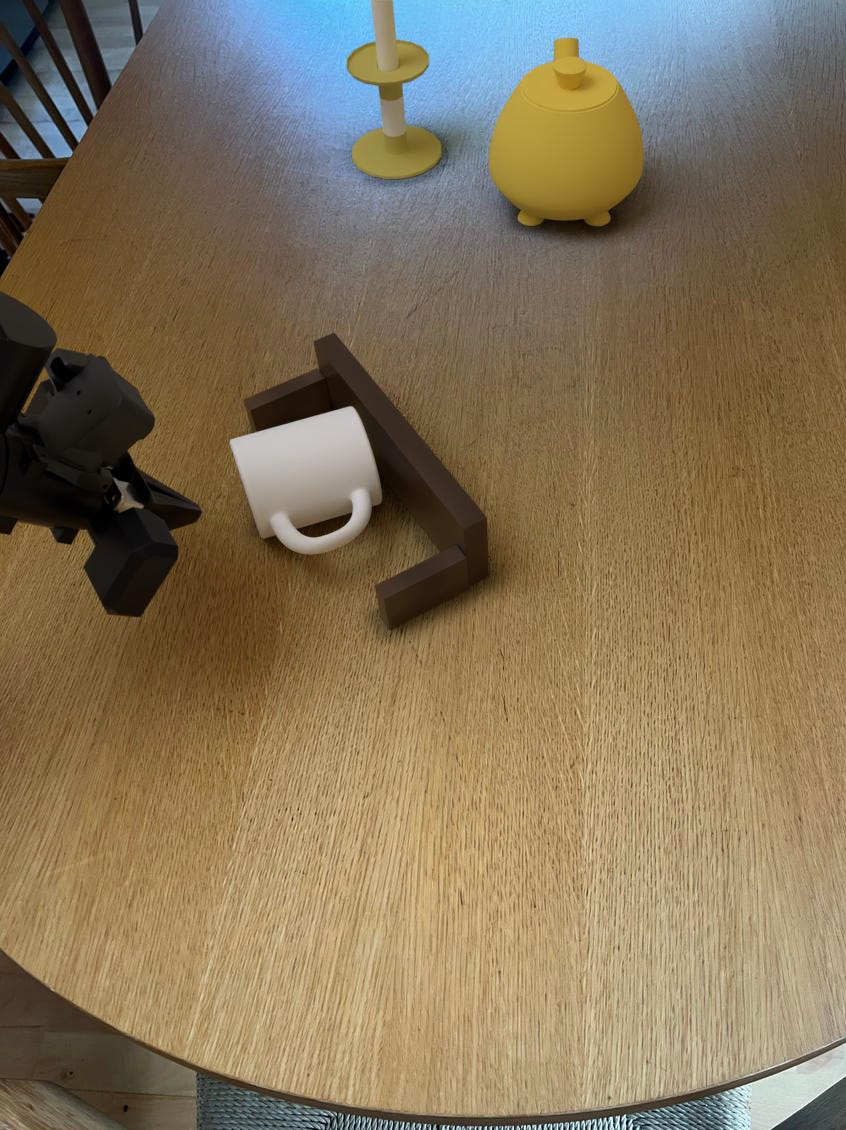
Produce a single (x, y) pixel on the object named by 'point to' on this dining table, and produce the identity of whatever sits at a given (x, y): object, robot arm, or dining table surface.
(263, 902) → the dining table surface
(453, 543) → the shelf
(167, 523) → the robot arm
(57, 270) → the dining table surface
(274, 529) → the mug
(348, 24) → the dining table surface
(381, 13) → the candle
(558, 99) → the teapot
